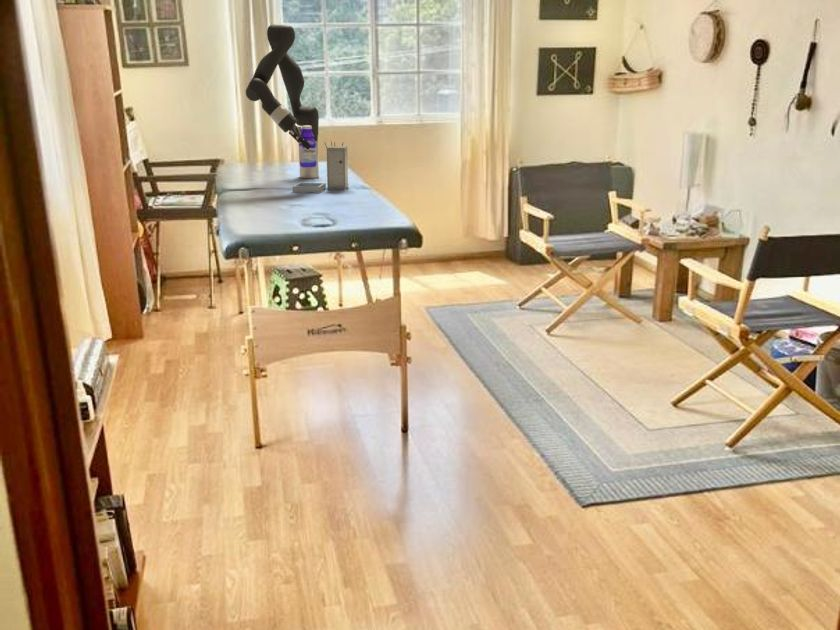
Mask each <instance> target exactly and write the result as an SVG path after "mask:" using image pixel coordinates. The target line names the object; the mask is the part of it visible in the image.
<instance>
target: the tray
mask: <svg viewBox="0 0 840 630" xmlns="http://www.w3.org/2000/svg"><path fill="white" fill-rule="evenodd" d="M326 187H327V182H297V183H296V184H294V185H292V186H291V188H292V192H291V193H304V192H321V191H322V192H324V191H325V190H327V188H326ZM324 189H325V190H324ZM322 192H321V193H322Z"/></svg>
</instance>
